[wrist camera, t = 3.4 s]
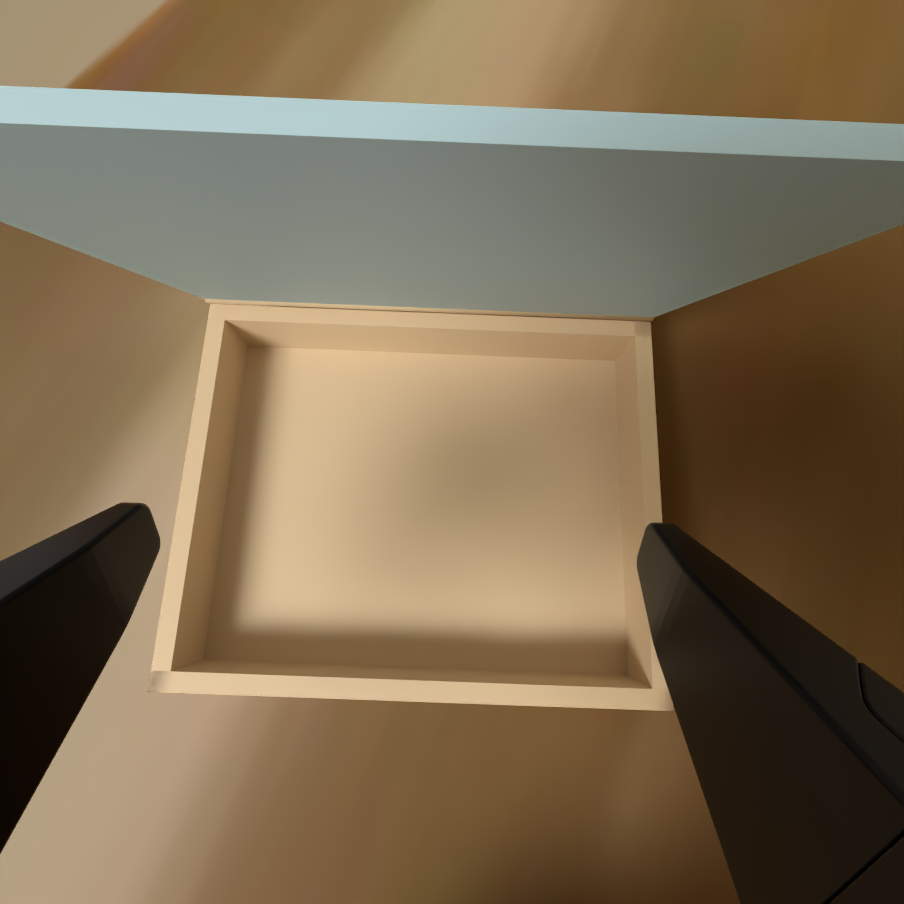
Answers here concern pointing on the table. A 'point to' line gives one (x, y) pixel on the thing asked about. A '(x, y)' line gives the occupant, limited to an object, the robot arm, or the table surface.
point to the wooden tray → (415, 511)
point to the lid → (438, 199)
